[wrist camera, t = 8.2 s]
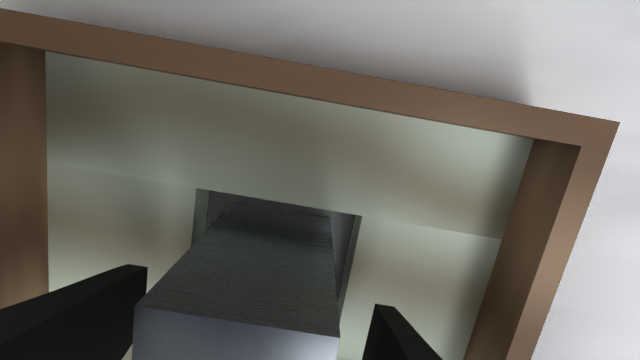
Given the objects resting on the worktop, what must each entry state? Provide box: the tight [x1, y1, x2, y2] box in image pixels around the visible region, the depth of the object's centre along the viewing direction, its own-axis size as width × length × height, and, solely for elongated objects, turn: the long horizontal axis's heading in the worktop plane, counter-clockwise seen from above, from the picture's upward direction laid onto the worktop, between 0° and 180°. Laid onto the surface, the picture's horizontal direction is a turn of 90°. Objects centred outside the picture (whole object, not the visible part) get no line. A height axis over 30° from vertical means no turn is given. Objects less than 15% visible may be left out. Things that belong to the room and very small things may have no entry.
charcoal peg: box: [132, 202, 340, 360], centre depth 10 cm, size 4×4×7 cm
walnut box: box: [0, 8, 620, 360], centre depth 12 cm, size 15×18×4 cm
